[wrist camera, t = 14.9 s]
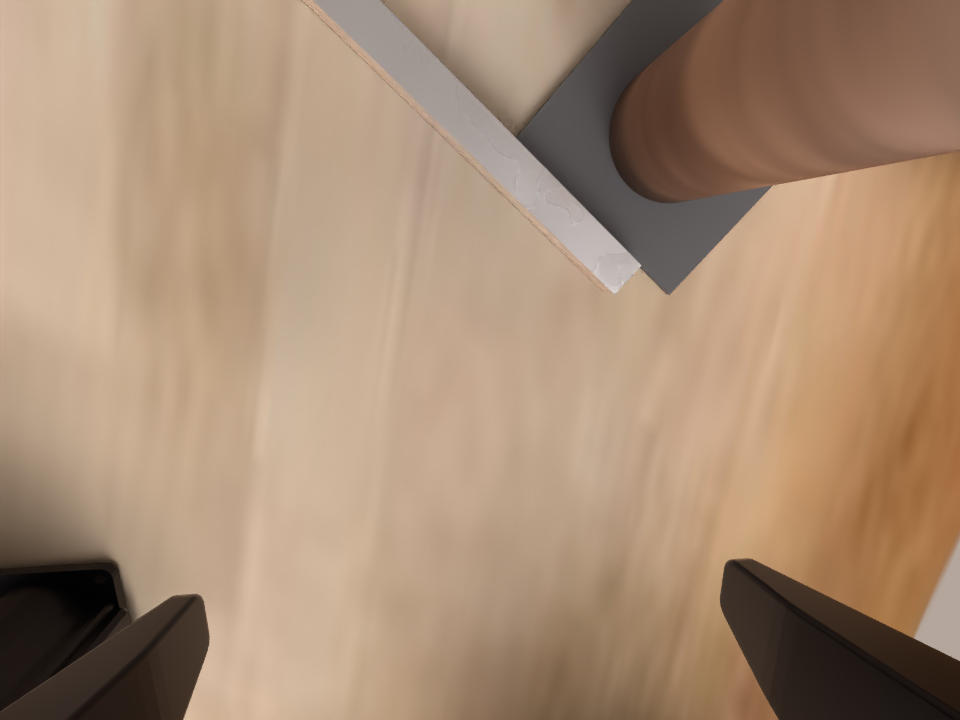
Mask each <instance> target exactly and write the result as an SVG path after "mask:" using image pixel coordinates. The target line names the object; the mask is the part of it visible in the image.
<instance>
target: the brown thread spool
mask: <svg viewBox="0 0 960 720" xmlns="http://www.w3.org/2000/svg"><path fill="white" fill-rule="evenodd" d="M609 144H610V151H611V156H612V159H613V162H614V165H615V167H616V170H617V171H618V173H619V175H620V177H621V178H622V179H623V181H624V182H625V183H626V184H627V185H628V186H629V187H630V188H631V189H632V190H633V191H634V192H636V193H637V194H638V195H640V196H642V197H644V198H646V199H648V200H651V201H654V202H659V203H679V202H685V201H690V200H696V199H701V198H707V197H712V196H717V195H723V194H728V193H734V192H739V191H745V190H750V189H756V188H761V187H766V186H772V185H777V184H783V183H788V182H794V181H799V180H805V179H810V178H815V177H821V176H826V175H832V174H837V173H843V172H848V171H854V170H859V169H864V168H870V167H875V166H881V165H886V164H892V163H897V162H903V161H908V160H913V159H919V158H924V157H930V156H935V155H941V154H946V153H952V152H957V151H960V0H723V1H722V2H721V3H720V4H719V5H718V6H716V7H715V8H714V9H713V10H712V11H711V12H710V13H708V14H707V15H706V16H705V17H704V18H703V19H701V20H700V21H699V22H698V23H697V24H696V25H695V26H693V27H692V28H691V29H690V30H689V31H688V32H686V33H685V34H684V35H683V36H682V37H681V38H680V39H678V40H677V41H676V42H675V43H674V44H673V45H671V46H670V47H669V48H668V49H667V50H666V51H665V52H663V53H662V54H661V55H660V56H659V57H658V58H656V59H655V60H654V61H653V62H652V63H651V64H650V65H648V66H647V67H646V68H645V69H644V70H643V71H642V72H640V73H639V74H638V75H637V76H636V77H635V78H634V79H633V80H632V81H631V82H630V83H629V84H628V85H627V87H626V88H625V89H624V91H623V92H622V94H621V95H620V97H619V99H618V101H617V103H616V105H615V108H614V111H613V114H612V118H611V123H610V131H609Z"/></svg>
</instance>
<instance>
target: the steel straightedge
mask: <svg viewBox="0 0 960 720" xmlns="http://www.w3.org/2000/svg"><path fill="white" fill-rule="evenodd" d="M303 1H304V2H305V3H306V4H307V5H308V6H309V7H310V8H311V9H312V10H313V11H314V12H315V13H316V14H317V15H318V16H319V17H320V18H321V19H322V20H323V21H324V22H325V23H326V24H327V25H328V26H330V27H331V28H332V29H333V30H334V31H335V32H336V33H337V34H338V35H339V36H340V37H341V38H342V39H343V40H344V41H345V42H346V43H347V44H348V45H349V46H350V47H351V48H352V49H353V50H354V51H355V52H356V53H357V54H358V55H359V56H360V57H362V58H363V59H364V60H365V61H366V62H367V63H368V64H369V65H370V66H371V67H372V68H373V69H374V70H375V71H376V72H377V73H378V74H379V75H380V76H381V77H382V78H383V79H384V80H385V81H386V82H387V83H388V84H389V85H390V86H391V87H392V88H393V89H395V90H396V91H397V92H398V93H399V94H400V95H401V96H402V97H403V98H404V99H405V100H406V101H407V102H408V103H409V104H410V105H411V106H412V107H413V108H414V109H415V110H416V111H417V112H418V113H419V114H420V115H421V116H422V117H423V118H424V119H425V120H426V121H428V122H429V123H430V124H431V125H432V126H433V127H434V128H435V129H436V130H437V131H438V132H439V133H440V134H441V135H442V136H443V137H444V138H445V139H446V140H447V141H448V142H449V143H450V144H451V145H452V146H453V147H454V148H455V149H456V150H457V151H458V152H460V153H461V154H462V155H463V156H464V157H465V158H466V159H467V160H468V161H469V162H470V163H471V164H472V165H473V166H474V167H475V168H476V169H477V170H478V171H479V172H480V173H481V174H482V175H483V176H484V177H485V178H486V179H487V180H488V181H489V182H490V183H491V184H493V185H494V186H495V187H496V188H497V189H498V190H499V191H500V192H501V193H502V194H503V195H504V196H505V197H506V198H507V199H508V200H509V201H510V202H511V203H512V204H513V205H514V206H515V207H516V208H517V209H518V210H519V211H520V212H521V213H522V214H523V215H524V216H526V217H527V218H528V219H529V220H530V221H531V222H532V223H533V224H534V225H535V226H536V227H537V228H538V229H539V230H540V231H541V232H542V233H543V234H544V235H545V236H546V237H547V238H548V239H549V240H550V241H551V242H552V243H553V244H554V245H555V246H556V247H557V248H559V249H560V250H561V251H562V252H563V253H564V254H565V255H566V256H567V257H568V258H569V259H570V260H571V261H572V262H573V263H574V264H575V265H576V266H577V267H578V268H579V269H580V270H581V271H582V272H583V273H584V274H585V275H586V276H587V277H588V278H589V279H591V280H592V281H593V282H594V283H595V284H596V285H597V286H598V287H599V288H600V289H601V290H602V291H605V292H608V293H611V294H614V295H615V294H616V293H617V292H618V291H619V290H620V288H621V287H622V286H623V285H624V284H625V283H626V282H627V281H628V280H629V279H630V278H631V277H632V276H633V274H634V273H635V272H636V271H637V270H638V269H639V268H640V267H641V266H642V265H641V264H640V263H639V262H638V261H637V260H636V259H635V258H634V257H633V256H632V255H631V254H630V253H629V252H628V251H627V250H626V249H625V248H624V247H623V246H622V245H621V244H620V243H619V242H618V241H617V240H616V239H615V238H614V237H613V236H612V235H611V234H610V233H609V232H608V231H607V230H606V229H605V228H604V227H603V226H602V225H601V224H600V223H599V222H598V221H597V220H596V219H595V218H594V217H593V216H592V215H591V214H590V213H589V212H588V211H587V210H586V209H585V208H584V207H583V206H582V205H581V204H580V203H579V202H578V200H577V199H576V198H575V197H574V196H573V195H572V194H571V193H570V192H569V191H568V190H567V189H566V188H565V187H564V186H563V185H562V184H561V183H560V182H559V181H558V180H557V179H556V178H555V177H554V176H553V175H552V174H551V173H550V172H549V171H548V170H547V169H546V168H545V167H544V166H543V165H542V164H541V163H540V162H539V161H538V160H537V159H536V158H535V157H534V156H533V155H532V154H531V153H530V152H529V151H528V150H527V149H526V148H525V147H524V146H523V145H522V144H521V143H520V142H519V141H518V140H517V139H516V138H515V137H514V136H513V135H512V134H511V132H510V131H509V130H508V129H507V128H506V127H505V126H504V125H503V124H502V123H501V122H500V121H499V120H498V119H497V118H496V117H495V116H494V115H493V114H492V113H491V112H490V111H489V110H488V109H487V108H486V107H485V106H484V105H483V104H482V103H481V102H480V101H479V100H478V99H477V98H476V97H475V96H474V95H473V94H472V93H471V92H470V91H469V90H468V89H467V88H466V87H465V86H464V85H463V84H462V83H461V82H460V81H459V80H458V79H457V78H456V77H455V76H454V75H453V74H452V73H451V72H450V71H449V70H448V69H447V68H446V67H445V66H444V64H443V63H442V62H441V61H440V60H439V59H438V58H437V57H436V56H435V55H434V54H433V53H432V52H431V51H430V50H429V49H428V48H427V47H426V46H425V45H424V44H423V43H422V42H421V41H420V40H419V39H418V38H417V37H416V36H415V35H414V34H413V33H412V32H411V31H410V30H409V29H408V28H407V27H406V26H405V25H404V24H403V23H402V22H401V21H400V20H399V19H398V18H397V17H396V16H395V15H394V14H393V13H392V12H391V11H390V10H389V9H388V8H387V7H386V6H385V5H384V4H383V3H382V2H381V1H380V0H303Z"/></svg>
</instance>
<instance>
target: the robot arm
mask: <svg viewBox="0 0 960 720" xmlns="http://www.w3.org/2000/svg"><path fill="white" fill-rule="evenodd" d="M101 574H103V575H105V576H106V578H105V577H103V576H102V575H101ZM720 604H721V609H722V612H723V614H724V616H725V618H726V620H727V622H728V624H729V626H730V628H731V630H732V632H733V634H734V636H735V638H736V640H737V642H738V644H739V646H740V648H741V650H742V652H743V654H744V656H745V658H746V660H747V662H748V664H749V666H750V668H751V670H752V672H753V674H754V676H755V678H756V680H757V682H758V683H759V685H760V687H761V689H762V691H763V693H764V695H765V697H766V699H767V700H768V702H769V704H770V706H771V707H772V709H773V711H774V712H775V714H776V716H777V717H778V719H779V720H960V661H958V660H956V659H954V658H952V657H950V656H948V655H946V654H944V653H942V652H940V651H938V650H936V649H934V648H932V647H930V646H928V645H926V644H924V643H922V642H920V641H918V640H916V639H914V638H912V637H910V636H908V635H905V634H903V633H901V632H899V631H897V630H895V629H893V628H891V627H889V626H887V625H885V624H883V623H881V622H879V621H877V620H875V619H873V618H871V617H869V616H867V615H865V614H863V613H861V612H859V611H857V610H855V609H853V608H851V607H849V606H846V605H844V604H842V603H840V602H838V601H836V600H834V599H832V598H830V597H828V596H826V595H824V594H822V593H820V592H818V591H816V590H814V589H812V588H810V587H808V586H806V585H804V584H802V583H800V582H798V581H796V580H794V579H792V578H789V577H787V576H785V575H783V574H781V573H779V572H777V571H775V570H773V569H771V568H769V567H767V566H765V565H763V564H761V563H759V562H757V561H755V560H753V559H748V558H746V559H731V560H729V561H727V562H726V564H725V567H724V573H723V580H722V587H721V594H720ZM208 647H209V629H208V623H207V617H206V611H205V605H204V601H203V598H202V597H201V596H200V595H198V594H188V595H176V596H172V597H170V598H169V599H167V600H166V601H164V602H163V603H161V604H160V605H158V606H157V607H155V608H154V609H152V610H151V611H149V612H148V613H146V614H145V615H143V616H142V617H140V618H139V619H137V620H136V621H134V622H133V623H131V622H130V617H129V613H128V611H127V608H126V603H125V599H124V594H123V589H122V585H121V580H120V575H119V572H118V569H117V568H116V567H115V566H114V565H112V564H109V563H98V564H81V565H64V566H47V567H30V568H13V569H0V720H183V719H184V716H185V713H186V710H187V708H188V705H189V702H190V699H191V696H192V694H193V691H194V688H195V685H196V682H197V680H198V677H199V674H200V671H201V668H202V665H203V663H204V660H205V657H206V654H207V651H208Z"/></svg>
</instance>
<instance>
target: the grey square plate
mask: <svg viewBox="0 0 960 720" xmlns="http://www.w3.org/2000/svg"><path fill="white" fill-rule="evenodd" d="M722 1H723V0H633V1H632V2H631V3H630V4H629V5H628V6H627V8H626V9H625V10H624V11H623V12H622V14H621V15H620V16H619V17H618V18H617V19H616V21H615V22H614V23H613V24H612V25H611V26H610V28H609V29H608V30H607V31H606V32H605V34H604V35H603V36H602V37H601V38H600V39H599V41H598V42H597V43H596V44H595V45H594V47H593V48H592V49H591V50H590V51H589V52H588V54H587V55H586V56H585V57H584V58H583V59H582V61H581V62H580V63H579V64H578V65H577V67H576V68H575V69H574V70H573V71H572V72H571V74H570V75H569V76H568V77H567V78H566V80H565V81H564V82H563V83H562V84H561V85H560V87H559V88H558V89H557V90H556V91H555V92H554V94H553V95H552V96H551V97H550V98H549V100H548V101H547V102H546V103H545V104H544V105H543V107H542V108H541V109H540V110H539V111H538V113H537V114H536V115H535V116H534V117H533V118H532V120H531V121H530V122H529V123H528V124H527V125H526V127H525V128H524V129H523V130H522V131H521V133H520V134H519V135H518V136H517V137H516V139H517V140H518V141H519V142H520V143H521V144H522V145H523V146H524V147H525V148H526V149H527V150H528V151H529V152H530V153H531V154H532V155H533V156H534V157H535V158H536V159H537V160H538V161H539V162H540V163H541V164H542V165H543V166H544V167H545V168H546V169H547V170H548V171H549V172H550V173H551V174H552V175H553V176H554V177H555V178H556V179H557V180H558V181H559V182H560V183H561V184H562V185H563V186H564V187H565V188H566V189H567V190H568V191H569V192H570V193H571V194H572V195H573V196H574V197H575V198H576V199H577V200H578V202H579V203H580V204H581V205H582V206H583V207H584V208H585V209H586V210H587V211H588V212H589V213H590V214H591V215H592V216H593V217H594V218H595V219H596V220H597V221H598V222H599V223H600V224H601V225H602V226H603V227H604V228H605V229H606V230H607V231H608V232H609V233H610V234H611V235H612V236H613V237H614V238H615V239H616V240H617V241H618V242H619V243H620V244H621V245H622V246H623V247H624V248H625V249H626V250H627V251H628V252H629V253H630V254H631V255H632V256H633V257H634V258H635V259H636V260H637V261H638V262H639V263H640V264H641V265H642V266H641V267H640V268H641V269H642V270H643V271H644V272H645V273H646V274H647V275H648V276H649V277H650V278H651V279H652V280H653V281H654V282H655V283H656V284H657V285H658V286H659V287H660V288H661V289H662V290H663V291H664V292H665V293H666V294H669V295H670V294H671V293H672V292H673V290H674V289H675V288H676V287H677V286H678V285H679V284H680V283H681V282H682V281H683V280H684V279H685V278H686V277H687V276H688V275H689V273H690V272H691V271H692V270H693V269H694V268H695V267H696V266H697V265H698V264H699V263H700V262H701V261H702V260H703V259H704V258H705V257H706V255H707V254H708V253H709V252H710V251H711V250H712V249H713V248H714V247H715V246H716V245H717V244H718V243H719V242H720V241H721V240H722V239H723V237H724V236H725V235H726V234H727V233H728V232H729V231H730V230H731V229H732V228H733V227H734V226H735V225H736V224H737V223H738V222H739V221H740V219H741V218H742V217H743V216H744V215H745V214H746V213H747V212H748V211H749V210H750V209H751V208H752V207H753V206H754V205H755V204H756V203H757V201H758V200H759V199H760V198H761V197H762V196H763V195H764V194H765V193H766V192H767V191H768V190H769V189H770V188H771V187H772V186H773V185H772V186H766V187H761V188H756V189H750V190H745V191H739V192H734V193H728V194H723V195H717V196H712V197H707V198H701V199H696V200H690V201H685V202H679V203H659V202H654V201H651V200H648V199H646V198H644V197H642V196H640V195H638V194H637V193H636V192H634V191H633V190H632V189H631V188H630V187H629V186H628V185H627V184H626V183H625V182H624V181H623V179H622V178H621V177H620V175H619V173H618V171H617V170H616V167H615V165H614V162H613V159H612V156H611V151H610V144H609V131H610V123H611V118H612V114H613V111H614V108H615V105H616V103H617V101H618V99H619V97H620V95H621V94H622V92H623V91H624V89H625V88H626V87H627V85H628V84H629V83H630V82H631V81H632V80H633V79H634V78H635V77H636V76H637V75H638V74H639V73H640V72H642V71H643V70H644V69H645V68H646V67H647V66H648V65H650V64H651V63H652V62H653V61H654V60H655V59H656V58H658V57H659V56H660V55H661V54H662V53H663V52H665V51H666V50H667V49H668V48H669V47H670V46H671V45H673V44H674V43H675V42H676V41H677V40H678V39H680V38H681V37H682V36H683V35H684V34H685V33H686V32H688V31H689V30H690V29H691V28H692V27H693V26H695V25H696V24H697V23H698V22H699V21H700V20H701V19H703V18H704V17H705V16H706V15H707V14H708V13H710V12H711V11H712V10H713V9H714V8H715V7H716V6H718V5H719V4H720V3H721V2H722Z"/></svg>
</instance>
